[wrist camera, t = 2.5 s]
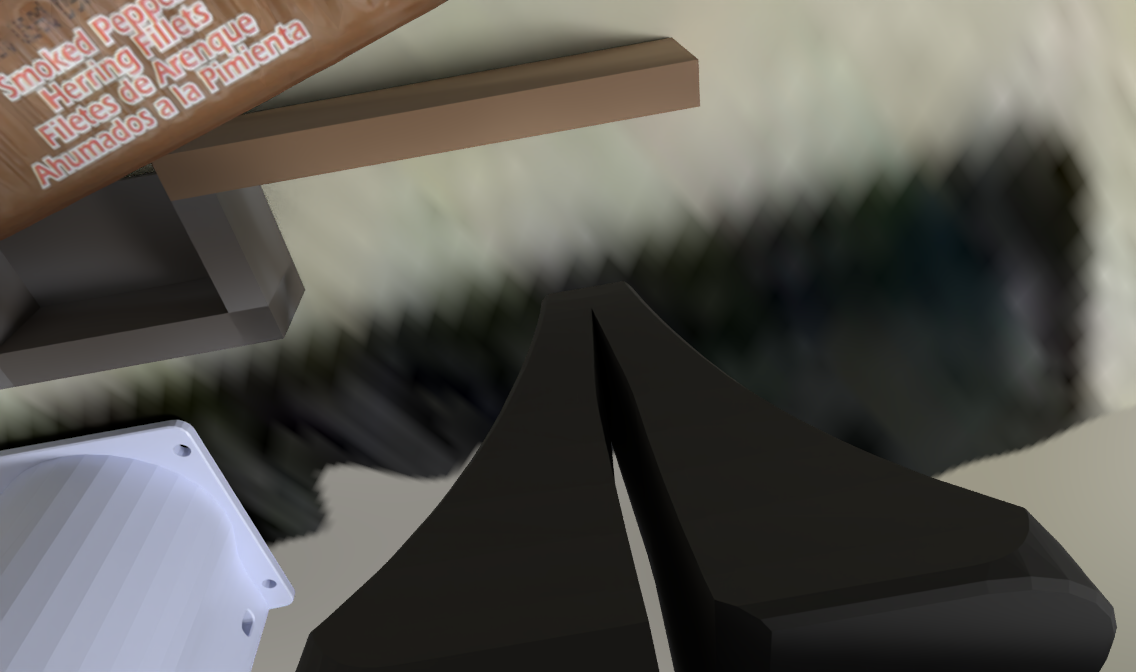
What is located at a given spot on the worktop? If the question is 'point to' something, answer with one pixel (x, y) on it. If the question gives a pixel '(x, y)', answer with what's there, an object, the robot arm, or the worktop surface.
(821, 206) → the worktop surface
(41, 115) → the tin
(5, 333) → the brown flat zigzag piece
